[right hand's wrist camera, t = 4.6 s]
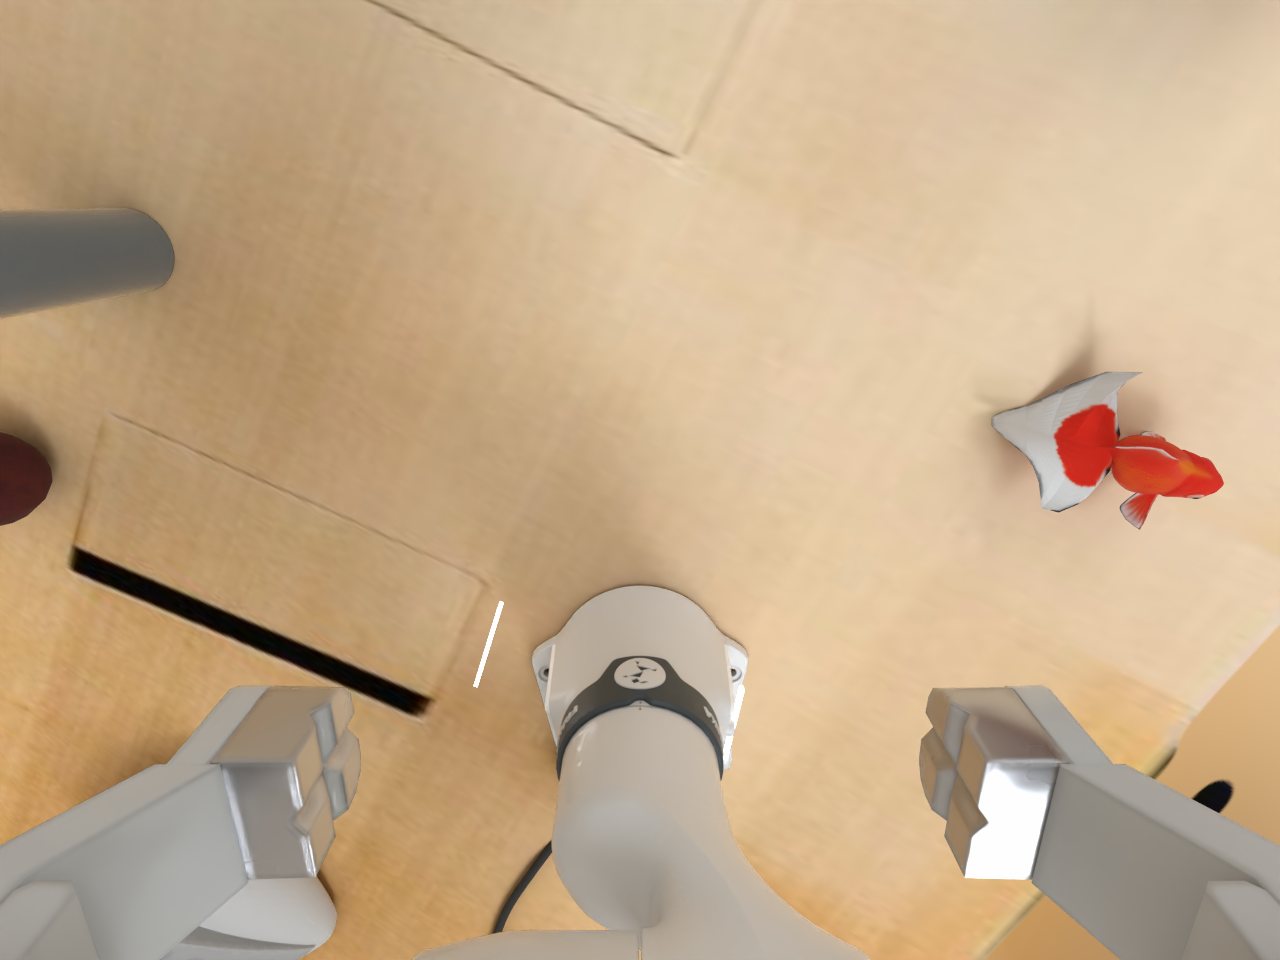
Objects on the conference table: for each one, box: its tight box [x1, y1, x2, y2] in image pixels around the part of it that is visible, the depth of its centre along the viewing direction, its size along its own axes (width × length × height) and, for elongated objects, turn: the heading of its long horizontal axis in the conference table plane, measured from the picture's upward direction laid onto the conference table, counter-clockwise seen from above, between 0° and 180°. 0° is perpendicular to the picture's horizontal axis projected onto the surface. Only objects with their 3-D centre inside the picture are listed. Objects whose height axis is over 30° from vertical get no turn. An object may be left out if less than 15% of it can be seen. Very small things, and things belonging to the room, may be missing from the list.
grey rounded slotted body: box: [160, 876, 337, 960], centre depth 67 cm, size 22×23×15 cm
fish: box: [991, 372, 1224, 529], centre depth 56 cm, size 11×16×10 cm
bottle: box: [0, 208, 174, 319], centre depth 43 cm, size 6×6×24 cm
